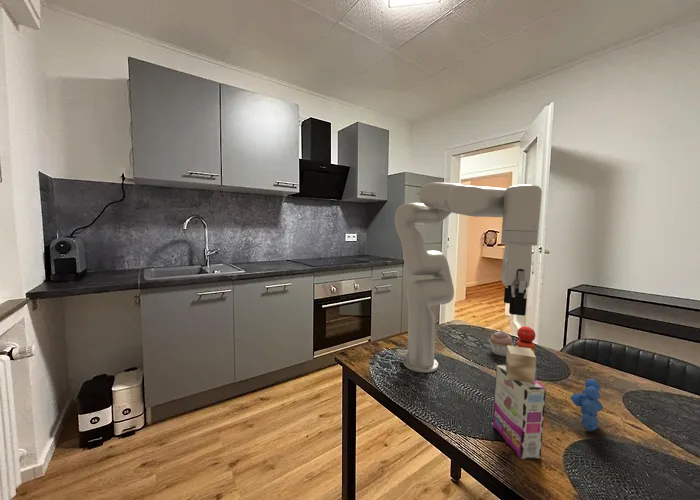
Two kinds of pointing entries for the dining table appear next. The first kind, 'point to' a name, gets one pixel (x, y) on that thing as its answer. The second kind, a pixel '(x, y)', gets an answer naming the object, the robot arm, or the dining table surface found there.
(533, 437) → the candy bar box
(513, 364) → the beech block
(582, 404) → the grapes
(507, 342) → the cupcake
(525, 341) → the stacking toy
